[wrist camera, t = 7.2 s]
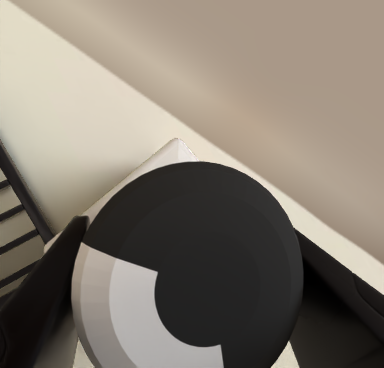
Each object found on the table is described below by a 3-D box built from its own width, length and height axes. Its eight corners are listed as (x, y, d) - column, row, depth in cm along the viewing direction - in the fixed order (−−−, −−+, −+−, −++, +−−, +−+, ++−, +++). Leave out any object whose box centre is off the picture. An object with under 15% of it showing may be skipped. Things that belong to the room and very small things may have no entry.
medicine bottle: (159, 161, 18) (217, 74, 6) (223, 235, 18) (386, 282, 7) (75, 232, 16) (-63, 297, 4) (150, 311, 17) (201, 547, 5)
